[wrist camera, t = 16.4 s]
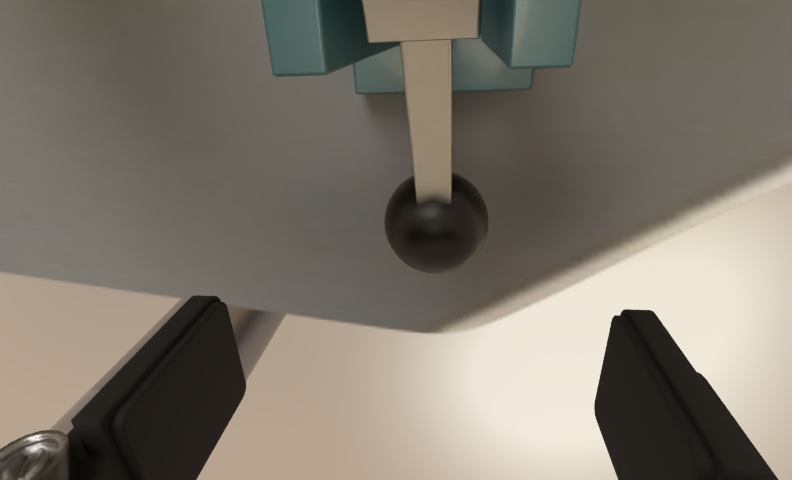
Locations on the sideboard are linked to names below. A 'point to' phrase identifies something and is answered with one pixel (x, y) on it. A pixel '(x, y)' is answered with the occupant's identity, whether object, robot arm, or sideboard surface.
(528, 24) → the teal lever mount
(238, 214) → the sideboard surface
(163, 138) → the sideboard surface
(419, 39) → the ball knob lever
